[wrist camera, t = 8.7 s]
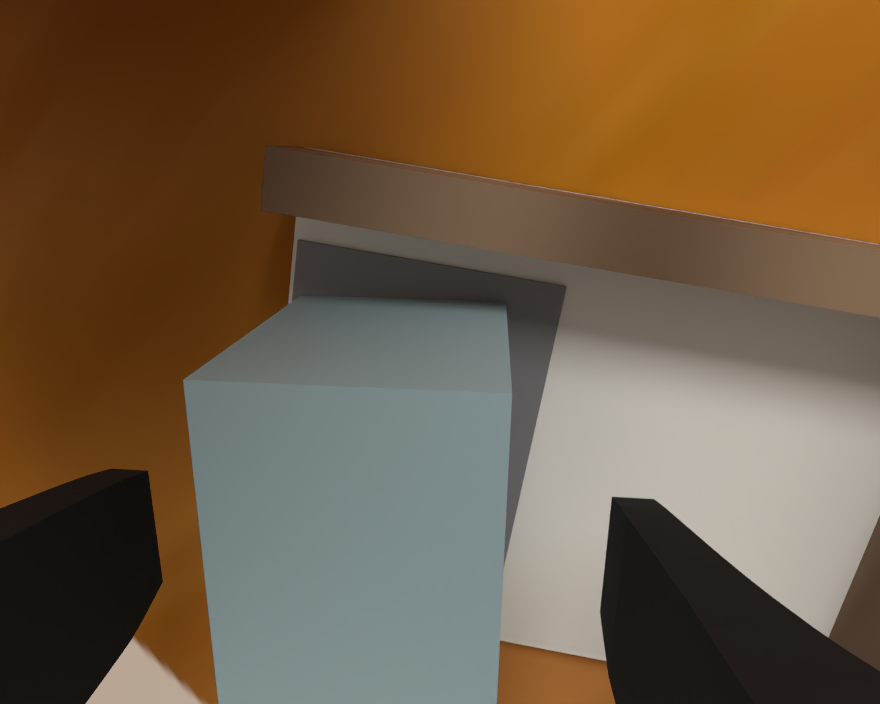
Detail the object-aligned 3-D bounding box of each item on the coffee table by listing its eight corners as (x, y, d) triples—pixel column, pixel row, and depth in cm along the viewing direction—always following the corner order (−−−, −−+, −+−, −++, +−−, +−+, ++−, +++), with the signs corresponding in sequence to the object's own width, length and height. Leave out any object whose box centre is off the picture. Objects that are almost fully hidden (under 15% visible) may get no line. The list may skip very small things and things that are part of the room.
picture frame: (1021, 268, 12) (1152, 296, 10) (835, 689, 15) (899, 791, 13) (309, 147, 12) (265, 145, 10) (268, 581, 15) (227, 658, 13)
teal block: (493, 570, 14) (493, 782, 9) (314, 558, 14) (224, 758, 10) (505, 301, 12) (511, 393, 8) (301, 294, 13) (183, 379, 8)
